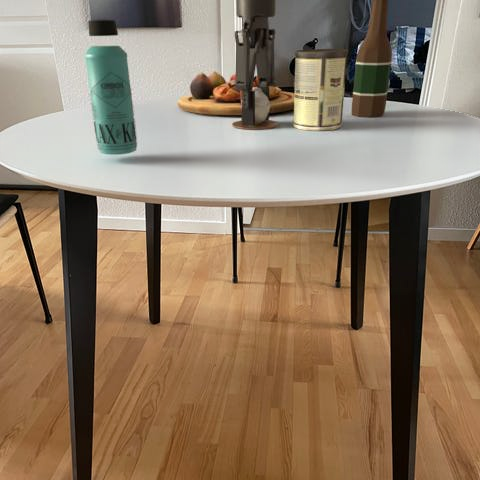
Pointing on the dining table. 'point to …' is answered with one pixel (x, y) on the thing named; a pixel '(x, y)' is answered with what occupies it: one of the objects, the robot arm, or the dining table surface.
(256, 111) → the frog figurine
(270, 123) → the coaster
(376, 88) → the beer bottle
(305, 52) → the coffee can
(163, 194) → the dining table surface
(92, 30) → the beverage bottle
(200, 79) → the wooden plate
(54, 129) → the dining table surface
